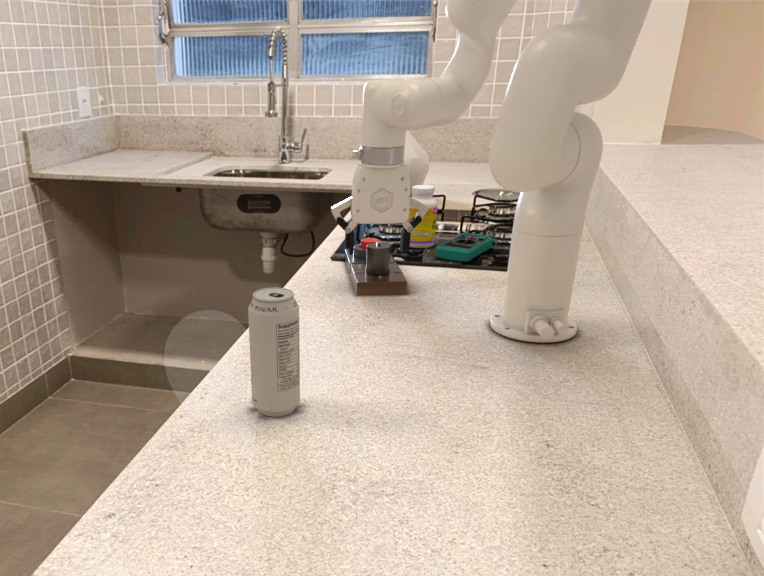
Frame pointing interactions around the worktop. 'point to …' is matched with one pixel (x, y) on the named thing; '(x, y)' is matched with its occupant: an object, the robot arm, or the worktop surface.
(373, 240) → the button
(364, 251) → the button block
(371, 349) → the worktop surface
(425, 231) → the supplement bottle
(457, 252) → the digital multimeter
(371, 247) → the dial
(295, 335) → the energy drink can
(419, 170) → the vase
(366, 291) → the dial panel
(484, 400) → the worktop surface
